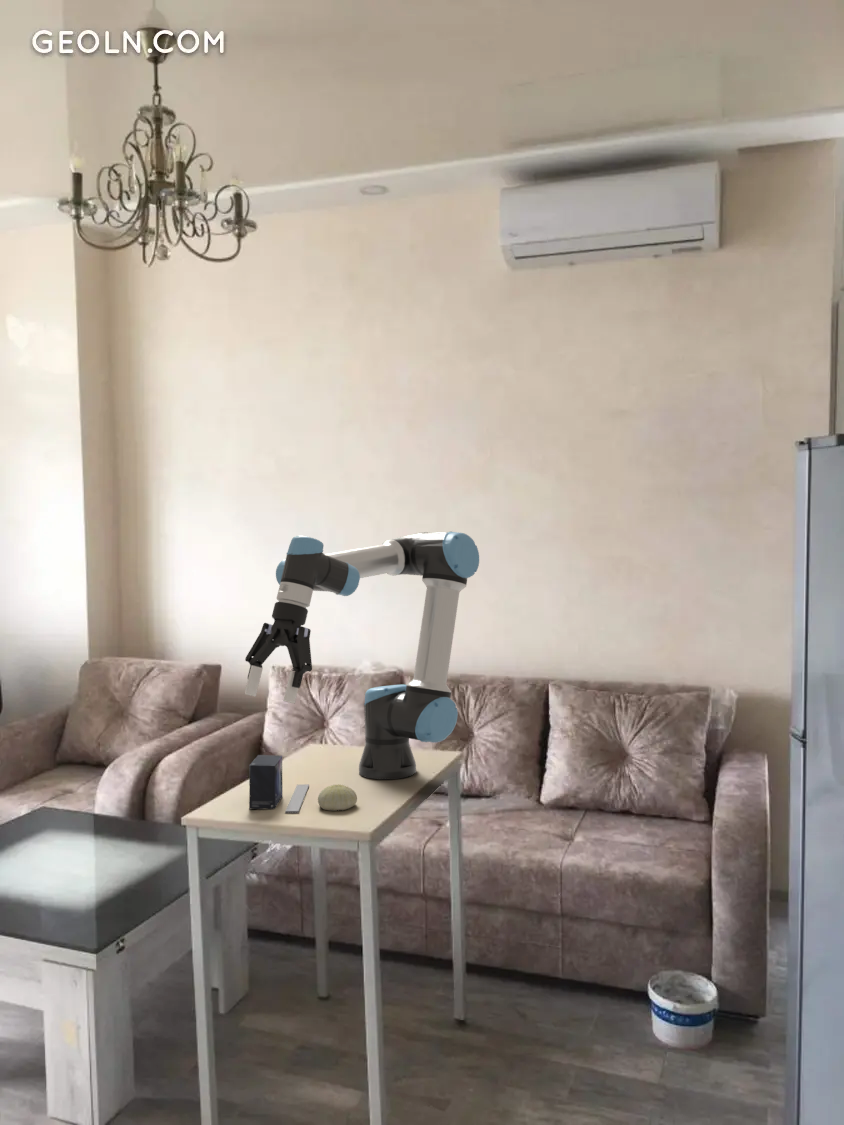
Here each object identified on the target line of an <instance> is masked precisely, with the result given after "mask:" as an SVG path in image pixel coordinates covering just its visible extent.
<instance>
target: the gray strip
mask: <svg viewBox="0 0 844 1125" xmlns="http://www.w3.org/2000/svg"><path fill="white" fill-rule="evenodd" d="M309 788H310V784H307V783H305V784H296V786H295V789H294V791H293V793H292V795H291V797H290V799H289V801H288V804H287V806H286V809H285V811H284V812H285V814H299V813H300V810H301V809H302V806H301V805H303V803H304V801H303V800H305V798H306V796H307V793H308V791H309ZM306 792H307V793H306Z"/></svg>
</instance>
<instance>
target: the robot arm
mask: <svg viewBox="0 0 844 1125" xmlns="http://www.w3.org/2000/svg"><path fill="white" fill-rule="evenodd" d="M479 564H480V552H479V548H478V546H477V545H476V543H475V540H474V539H473V538H472V537H471V536H469V535H468V534H467V533H463V532H457V531H443V532H442V531H441V532H438V531H437V532H427V531H425V532H418V533H417V532H416V533H413V534H409V535H404V536H402V537H401V536H400V537H397V538H392V539H387V540H385V541H384V542H383V543H382V544H380V545H372V546H367V547H363V548H362V547H361V548H355V549H348V550H343V551H338V552H331V553H324V543H323V542H322V541H320V540H319V539H316V538H314V537H311V536H306V535H305V536H304V535H296V536H294V537H292V538H291V540H290V542H289V545H288V549H287V552H286V557H285V559H283V560H281V561H280V562H279V563H278V565H277V567H276V569H275V577H276V578H275V580H276V582H277V583H278V585H279V587H278V591H277V595H276V600H277V601H275V603H274V606H273V611H272V614H271V618H272V619H273V620H274V622H273V624H271V623H268V622H264V623H263V625H262V626H261V627H262V628H261V630H260V633H259V634H258V636H257V637H256V639H255V641H254V643H253V644H252V646H251V648H250V650H249V651H248V653H247V654H246V657H245V660H244V661H245V662H246V663H249V670H248V674H247V682H246V685H245V690H244V695H247V696H251V697H254V698H255V697H257V693H258V689H259V686H260V681H261V677H262V673H263V664H264V662H266V660H267V659H268V658H269V657H270V656H271V654H273V652H274V651H275V650H276V649H277V648H279V647H286V649H287V651H288V655H289V658H290V662H291V665H292V669H291V670H290V672H289V674H288V675H289V676H288V679H287V684H286V688H285V692H284V696H283V699H282V700H283V701H282V702H286V703H289V704H296V700H297V698H298V697H297V696H298V692H299V689H300V688H301V685H302V681H303V677H304V675H305V673H309V672H312V670H313V663H312V653H311V642H310V637H311V632H312V631H311V628H308V627H305V626H304V625H305V624H306V621H307V618H308V612H309V610H308V609H307V608H309V607H310V605H311V601H312V596H313V594H314V593H313V592H314V591H315V592H327V593H328V592H330V593H333V594H335V595H337V596H338V595H339V596H342V597H349V596H350V595H352V594H354V593H355V592H356V591H357V588H358V587H359V585H360V580H361V579H363V578H369V577H373V576H380V575H385V574H387V575H389V576H400V575H410V576H420V577H421V576H422V579H421V580H422V583H423V584H424V585H425V586H426V591H425V598H424V604H423V610H422V612H423V613H422V618H421V619H422V620H421V626H420V633H419V639H418V646H417V652H416V659H415V660H416V661H415V666H414V673H413V679H411V681H409V682H408V683H407V684H391V685H383V686H382V685H381V686H375V687H371V688H368V689H367V690H366V692H365V694H364V704H363V705H364V706H363V707H364V710H363V711H364V735H365V736H364V737H365V738H364V739H365V742H364V744H365V745H364V748H363V751H362V754H361V758H360V761H359V764H358V773H359V775H360V776H361V777H364V778H367V779H373V780H398V779H404V778H409V777H412V776H414V775H415V774H416V773H417V763H416V759H415V757H414V754H413V751H412V749H411V748H412V747H411V745H410V739H411V740H416V741H419V742H422V743H435V744H436V743H440V742H441V743H442V742H443V741H444V740H445V739H447V738H448V736H450V735H451V734H452V733H453V731H454V729H455V727H456V724H457V722H458V716H459V714H458V708H457V705H456V703H455V701H454V700H453V699H452V698H451V696H452V690H451V689H450V688H449V686H448V684H447V682H448V675H449V668H450V662H451V661H450V660H451V656H452V655H451V654H452V648H453V639H454V634H455V633H454V632H455V628H456V626H455V625H456V620H457V611H458V607H459V606H458V605H459V598H460V592H461V591H462V590H464V589H465V588H467V585H468V584H467V583H468V579H469V578H472V577H473V576H474V575H475V574H476V572H477V571H478V568H479V567H480V566H479ZM414 773H415V774H414ZM413 774H414V775H413ZM411 775H412V776H411ZM408 776H409V777H408Z"/></svg>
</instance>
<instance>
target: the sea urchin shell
mask: <svg viewBox="0 0 844 1125" xmlns="http://www.w3.org/2000/svg"><path fill="white" fill-rule="evenodd" d="M357 802H358V796H357V793H356V792H355V790H354V789H352V788H351V787H349V786H348V785H345V784H333V785H329V786H326V787H325V788H323V789H322V790H321V791H320V793H319V794H318V797H317V803H318V806H319V807H320V808H321V809H323V810H326V811H336V812H337V810H338V811H339V810H342V811H346V810H350V809H351V808H353V807H354V806H356V803H357Z"/></svg>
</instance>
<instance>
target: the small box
mask: <svg viewBox="0 0 844 1125" xmlns="http://www.w3.org/2000/svg"><path fill="white" fill-rule="evenodd" d="M248 766H249V768H248V770H249V774H248V775H249V779H248V780H249V782H248V785H249V788H248V789H249V792H248V795H249V799H248V804H249V805H248V809H249V810H275V809H276V808H277V806H278V804H279V803H280V802H281V800H282V798H283V755H271V754H257V756H256V757H255V758H254V759H253V761H251V763H250V764H249V765H248Z"/></svg>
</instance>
